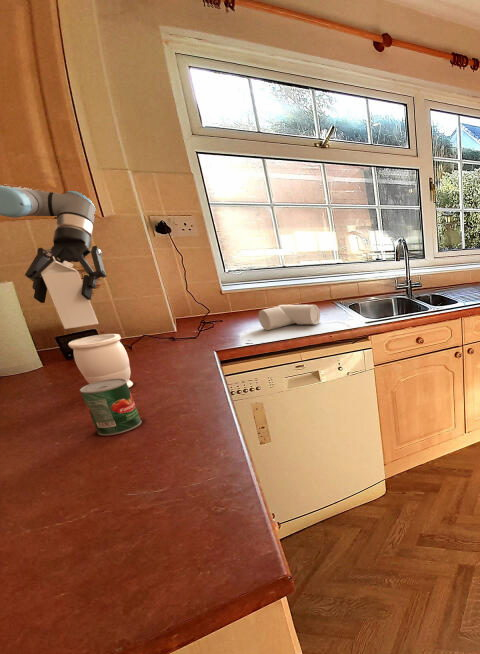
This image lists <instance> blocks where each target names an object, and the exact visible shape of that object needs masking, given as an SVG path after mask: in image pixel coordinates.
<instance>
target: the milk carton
mask: <svg viewBox="0 0 480 654" xmlns="http://www.w3.org/2000/svg"><path fill="white" fill-rule="evenodd" d="M53 259H54V261H53V262H52V263H51V264H50V265H49V266H48V267H47V268H46V269H45V270H43V271H42V272H41V275H42V277H43V280H44V282H45V284H46V287H47V292H48V294H49V296H50V299H51V300H52V303H53V305H54V308H55V310H56V312H57V315H58V317H59V319H60V322H61V324H62V326H63V329H64V330H68V329H73V328H81V327H87V326H94V325H99V321H98V318H97V315H96V313H95V310H94V308H93V305H92V303H91V300H87V299H86V298H85V297H84V296H82V295H81V292H82V285H83V279H82V277H81V275H80V272H79V271H78V270H77V269H75V268H74V266H75V264H74V263H73V262H67V261H64V262H63V263H60V262H58V261H56V260H55V258H54V256H53Z"/></svg>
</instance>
